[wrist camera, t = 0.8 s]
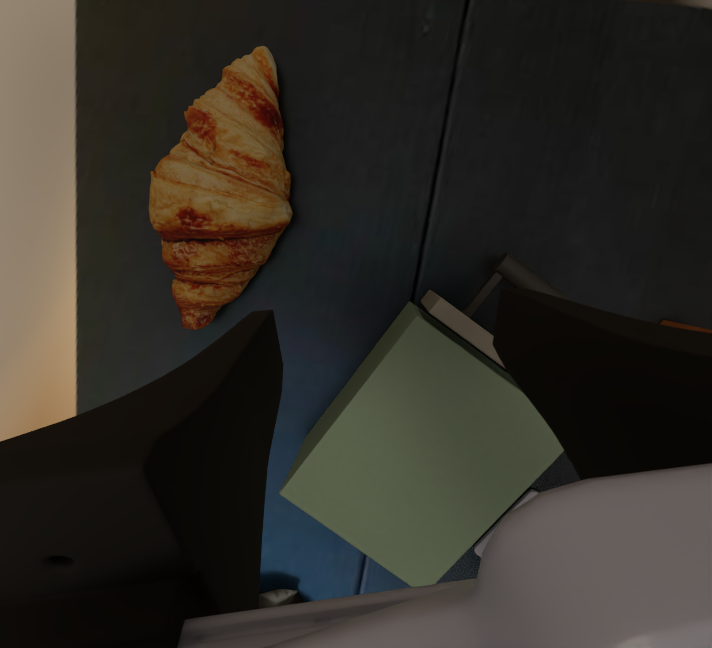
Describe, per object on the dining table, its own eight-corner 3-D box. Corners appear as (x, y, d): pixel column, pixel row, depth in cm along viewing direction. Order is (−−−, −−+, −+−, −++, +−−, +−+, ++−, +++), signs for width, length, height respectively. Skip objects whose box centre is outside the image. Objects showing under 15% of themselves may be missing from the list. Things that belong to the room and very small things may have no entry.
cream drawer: (469, 236, 27) (493, 229, 21) (585, 323, 27) (642, 341, 21) (326, 423, 31) (310, 463, 24) (429, 497, 31) (439, 555, 25)
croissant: (252, 75, 30) (159, 2, 23) (345, 75, 25) (261, -18, 18) (198, 311, 34) (104, 307, 27) (270, 351, 29) (177, 359, 22)
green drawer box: (409, 300, 29) (416, 315, 21) (529, 388, 29) (580, 435, 21) (305, 437, 32) (278, 493, 24) (415, 515, 32) (423, 596, 25)
